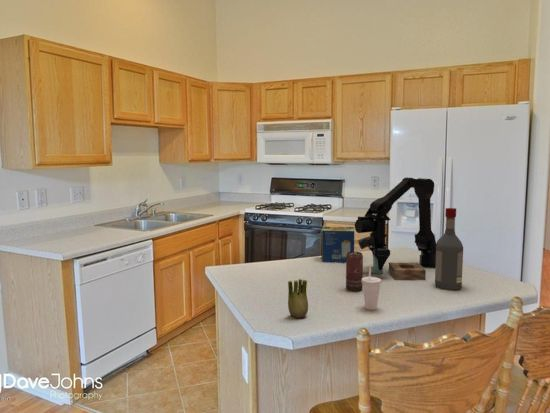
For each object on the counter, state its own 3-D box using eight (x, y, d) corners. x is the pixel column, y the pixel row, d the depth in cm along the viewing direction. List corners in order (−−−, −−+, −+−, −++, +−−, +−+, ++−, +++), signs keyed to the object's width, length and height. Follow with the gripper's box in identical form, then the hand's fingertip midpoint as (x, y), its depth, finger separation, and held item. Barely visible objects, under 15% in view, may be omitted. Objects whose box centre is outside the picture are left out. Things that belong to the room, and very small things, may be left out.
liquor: (435, 288, 154) (438, 209, 150) (434, 281, 162) (437, 206, 159) (461, 291, 151) (465, 210, 147) (459, 284, 159) (463, 207, 156)
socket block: (416, 271, 177) (417, 262, 176) (425, 280, 165) (425, 270, 164) (388, 271, 177) (388, 262, 177) (395, 279, 165) (395, 270, 165)
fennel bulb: (287, 318, 128) (286, 280, 126) (292, 312, 132) (291, 276, 131) (304, 320, 126) (304, 282, 124) (309, 314, 130) (309, 278, 129)
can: (361, 286, 157) (361, 251, 156) (363, 292, 151) (363, 255, 149) (345, 286, 158) (345, 250, 156) (346, 291, 152) (346, 254, 150)
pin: (381, 271, 177) (381, 253, 177) (383, 274, 174) (383, 255, 173) (372, 271, 178) (372, 253, 177) (373, 274, 174) (374, 255, 173)
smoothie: (358, 304, 138) (359, 264, 137) (377, 303, 139) (378, 263, 137) (364, 311, 132) (365, 269, 130) (383, 310, 133) (384, 268, 131)
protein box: (322, 257, 205) (322, 226, 203) (353, 257, 202) (353, 226, 200) (321, 262, 194) (321, 230, 192) (354, 263, 192) (354, 230, 190)
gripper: (356, 227, 183) (355, 261, 185) (362, 235, 165) (362, 273, 167) (381, 227, 182) (380, 261, 184) (391, 235, 164) (390, 273, 166)
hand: (377, 267), depth 175 cm, fingers open, 9 cm apart
